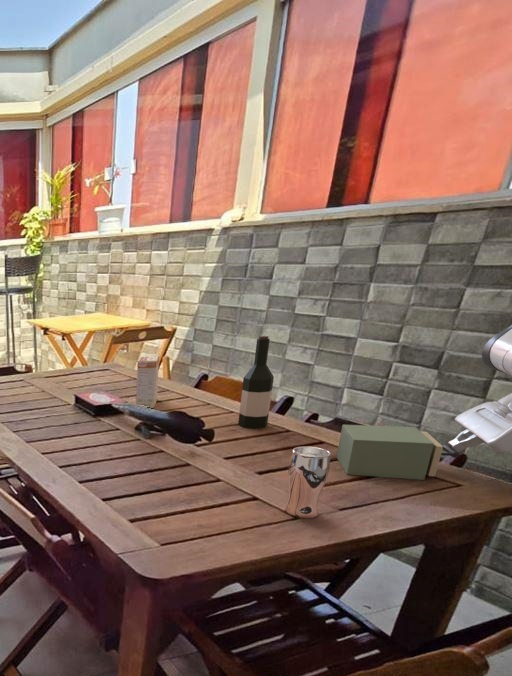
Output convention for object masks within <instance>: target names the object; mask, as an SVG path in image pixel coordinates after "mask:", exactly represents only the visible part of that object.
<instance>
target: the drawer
mask: <svg viewBox="0 0 512 676" xmlns="http://www.w3.org/2000/svg"><path fill="white" fill-rule="evenodd" d="M419 431H420V432H422V433H423V434H424V435H425V436H426V437H427V438H428V439H429V440H431V441H432V442H433V443H434V445H433V449H432V453H431V457H430V460H429V464H428V468H427V472H426V476H428V477H436V474H437V471H438V468H439V464H440V461H441V456H446V457H447V456H449V457H452V458H454V459H456V458H459V457H460V456H461V454H460V452H459V451H456V450H455V449H454V448H452V447H451V446H450V445H449V444H448V443H445V444H443V445H442V444H441V443H440V442H438V440H436V439H435V438H434V437H433V436H432V435H430V433H428V432H427V431H422V430H419ZM444 451H445V452H444Z"/></svg>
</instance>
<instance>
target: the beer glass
mask: <svg viewBox="0 0 512 676" xmlns="http://www.w3.org/2000/svg"><path fill="white" fill-rule="evenodd" d="M331 455H332V453H331V452H330V450H328V449H325V448H321V447H318V446H309V445H307V446H304V445H303V446H297V447H294V448H292V453H291V455H290V460H289V465H288V471H287V473H288V475H287V478H288V479H287V480H288V499H287V502H286V504H285V506H284V511H285V513H287V514H288V515H290V516H293V517H295V518H301V519H313V518H316V517H318V515H319V506H318V503H319V498H320V496H321V494H322V492H323V490H324V488H325V485H326V483H327V480H328V476H329V473H330V465H331Z"/></svg>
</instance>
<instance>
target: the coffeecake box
mask: <svg viewBox="0 0 512 676" xmlns="http://www.w3.org/2000/svg"><path fill="white" fill-rule="evenodd" d="M136 362H137V365H136V366H137V367H136V369H137V370H136V394H135V396H136V397H135V405H136V404H137V405H144V406H149V407H154V408H155V407H156V403H157V402H158V389H159V367H160V353H141V355H140V356H139V358H138V359H137V361H136Z"/></svg>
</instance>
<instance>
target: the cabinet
mask: <svg viewBox="0 0 512 676" xmlns="http://www.w3.org/2000/svg"><path fill="white" fill-rule="evenodd" d="M341 425H342V426H341V431H340V436H339V442H338V446H337V452H336V457H335V458H336V459H337V460H338V462H339V464H340V465H341V467H342V469H343V470H344V472H345V474H346V475H350V476H362V477H363V476H364V477H365V476H366V477H379V478H392V479H404V480H406V479H407V480H416V481H417V480H418V481H425V479H426V476H427V474H426V472H427V468H428V464H429V460H430V457H431V453H432V449H433V445H434V443H433V442H432V441H431V440H429V439H428V438H427V437H426V436H425V435H424V434H423V433H422V432H423V431H422V432H420V431H421V430H420V429H418V428H417V427H415V426H392V425H367V424H365V425H364V424H362V425H360V424H341Z"/></svg>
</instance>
